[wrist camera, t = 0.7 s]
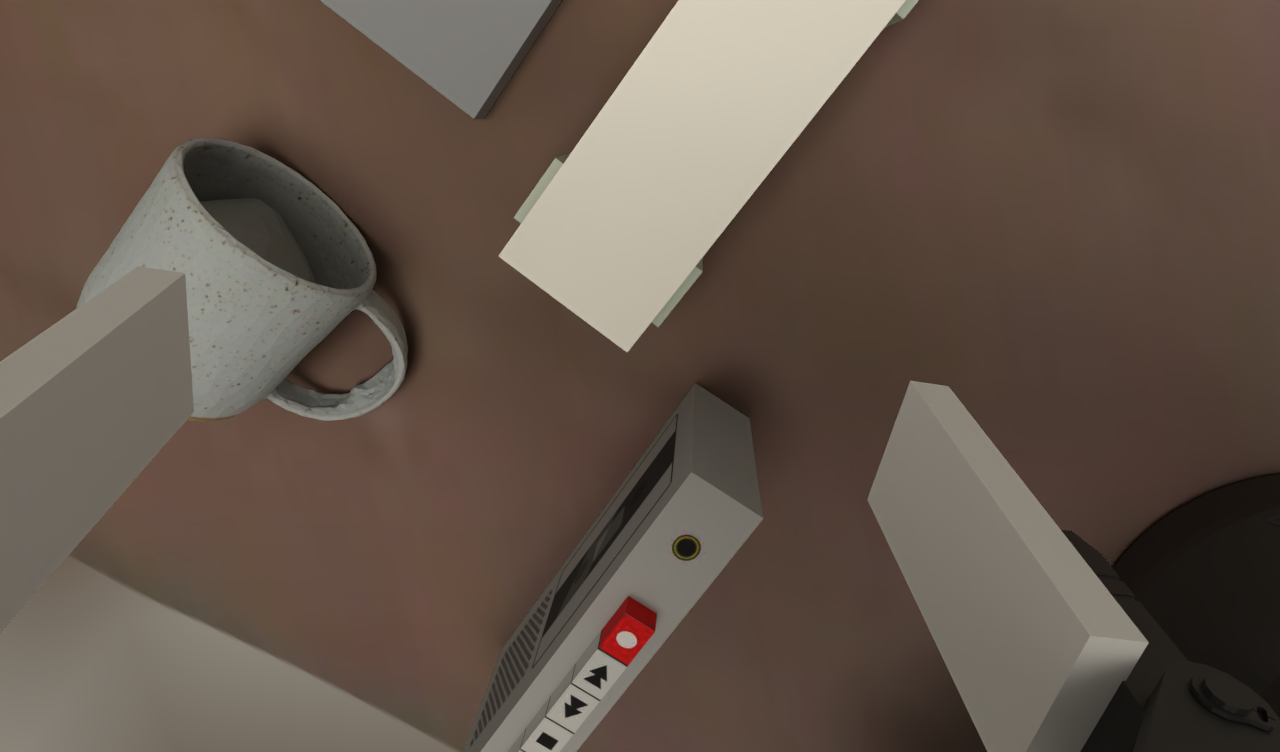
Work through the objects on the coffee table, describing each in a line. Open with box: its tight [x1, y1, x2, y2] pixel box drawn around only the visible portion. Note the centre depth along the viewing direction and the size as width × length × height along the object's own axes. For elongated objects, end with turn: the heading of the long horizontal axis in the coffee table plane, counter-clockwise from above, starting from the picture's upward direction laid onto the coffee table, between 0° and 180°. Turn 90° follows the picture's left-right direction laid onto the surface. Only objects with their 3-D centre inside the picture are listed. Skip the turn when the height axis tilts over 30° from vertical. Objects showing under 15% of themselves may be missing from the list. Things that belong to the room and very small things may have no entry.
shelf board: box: [499, 0, 906, 352], centre depth 25 cm, size 16×5×2 cm, turn 143°
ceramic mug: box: [76, 137, 408, 422], centre depth 31 cm, size 11×8×8 cm
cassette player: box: [463, 383, 764, 752], centre depth 32 cm, size 16×3×10 cm, turn 147°
